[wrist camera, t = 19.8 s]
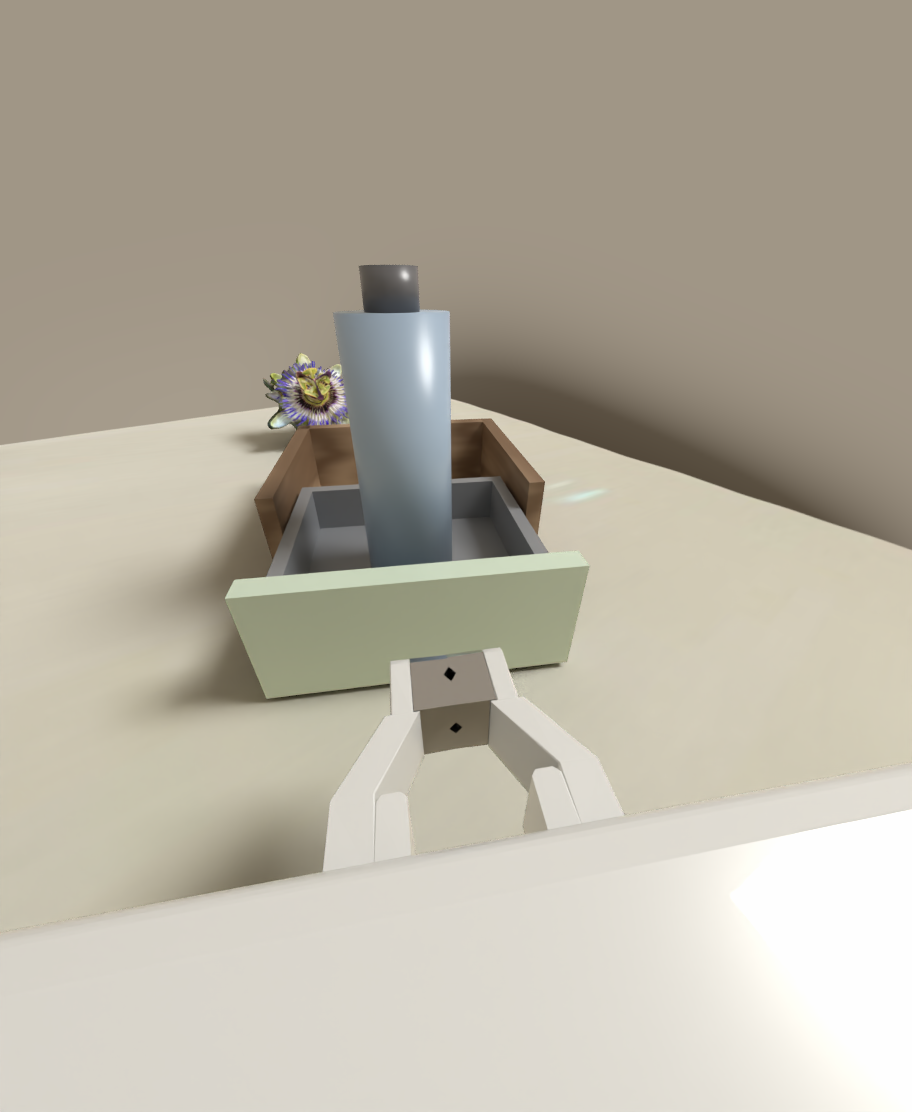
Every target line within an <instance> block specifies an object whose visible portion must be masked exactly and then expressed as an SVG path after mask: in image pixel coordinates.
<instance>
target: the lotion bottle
mask: <svg viewBox="0 0 912 1112" xmlns="http://www.w3.org/2000/svg"><path fill="white" fill-rule="evenodd" d="M359 271H360V280H361V289H362V298H363V306H364V310H358V311H342V312H334V313H333V317H334V323H335V329H336V336H337V342H338V350H339V356H340V363H341V370H342V376H343V382H344V389H345V396H346V403H347V409H348V416H349V423H350V429H351V436H352V442H353V449H354V456H355V462H356V469H357V476H358V482H359V489H360V495H361V502H362V509H363V515H364V522H365V529H366V535H367V542H368V548H369V555H370V562H371V568H378V567H390V566H402V565H414V564H425V563H437V562H449V561H452V489H451V397H450V312H449V311H442V310H420V306H419V284H418V266H410V265H364V266H359Z"/></svg>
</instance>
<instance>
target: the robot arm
mask: <svg viewBox="0 0 912 1112" xmlns="http://www.w3.org/2000/svg"><path fill="white" fill-rule="evenodd" d="M390 712H391V715H388V716H385V717H384V718H383V720H382V721H381V723H380V724H379V726H378V728H377V729H376V731H375V732H374V734H373V735H372V737H371V738H370V740H369V742H368V743H367V745H366V746H365V748H364V749H363V751H362V752H361V754H360V756H359V757H358V759H357V760H356V762H355V763H354V765H353V767H352V768H351V770H350V771H349V773H348V774H347V776H346V777H345V779H344V781H343V782H342V784H341V785H340V787H339V788H338V790H337V791H336V793H335V795H334V796H333V798H332V799H331V801H330V808H329V818H328V827H327V836H326V846H325V855H324V864H323V872H319V873H314V874H308V875H303V876H298V877H292V878H287V879H282V880H276V881H271V882H266V883H260V884H255V885H250V886H244V887H239V888H234V889H228V890H223V891H218V892H212V893H207V894H202V895H196V896H191V897H186V898H180V899H175V900H170V901H164V902H159V903H154V904H148V905H143V906H138V907H132V908H127V909H122V910H116V911H111V912H106V913H100V914H95V915H89V916H84V917H79V918H73V919H68V920H63V921H57V922H52V923H47V924H41V925H36V926H31V927H25V928H20V929H15V930H9V931H4V932H0V1112H912V762H907V763H902V764H897V765H891V766H886V767H881V768H875V769H870V770H864V771H859V772H854V773H848V774H843V775H838V776H832V777H827V778H822V779H816V780H811V781H806V782H800V783H795V784H790V785H784V786H779V787H774V788H768V789H763V790H758V791H752V792H747V793H742V794H736V795H731V796H726V797H720V798H715V799H709V800H704V801H699V802H693V803H688V804H683V805H677V806H672V807H667V808H661V809H656V810H651V811H645V812H640V813H635V814H629V815H624V813H623V811H622V808H621V806H620V804H619V802H618V800H617V798H616V795H615V793H614V791H613V789H612V787H611V785H610V783H609V780H608V778H607V776H606V774H605V772H604V770H603V767H602V765H601V763H600V761H599V759H598V757H597V756H596V755H594V754H593V753H592V752H591V751H589V750H588V749H587V748H586V747H585V746H583V745H582V744H581V743H580V742H578V741H577V740H576V739H575V738H574V737H572V736H571V735H570V734H569V733H568V732H566V731H565V730H564V729H563V728H561V727H560V726H559V725H558V724H557V723H555V722H554V721H553V720H552V719H551V718H549V717H548V716H547V715H546V714H544V713H543V712H542V711H541V710H540V709H538V708H537V707H536V706H535V705H534V704H532V703H531V702H530V701H529V700H527V699H526V698H525V697H524V696H522V697H518V695H517V692H516V689H515V686H514V683H513V681H512V678H511V675H510V672H509V669H508V666H507V663H506V660H505V657H504V654H503V651H502V649H501V648H500V647H499V648H491V649H484V650H475V651H468V652H460V653H453V654H446V655H441V656H432V657H422V658H412V659H410V660H409V659H404V660H395V661H390ZM481 745H488V746H489V748H490V749H491V750H492V751H493V752H494V753H495V754H496V756H497V757H498V758H499V759H500V760H501V761H502V763H503V764H504V765H505V766H506V767H507V768H508V770H509V771H510V772H511V773H512V774H513V775H514V776H515V778H516V779H517V780H518V781H519V782H520V783H521V785H522V786H523V787H524V788H525V789H526V790H527V792H528V793H529V794H528V800H527V805H526V810H525V816H524V821H523V829H524V833H525V834H522V835H517V836H511V837H506V838H501V839H495V840H490V841H485V842H479V843H474V844H469V845H463V846H458V847H453V848H447V849H442V850H436V851H431V852H426V853H420V854H416V850H415V842H414V835H413V829H412V823H411V816H410V810H409V804H408V797H407V795H408V793H409V791H410V789H411V786H412V784H413V782H414V779H415V777H416V775H417V773H418V770H419V768H420V766H421V763H422V761H423V759H424V755H425V754H430V753H435V752H441V751H446V750H452V749H457V748H465V747H473V746H481Z"/></svg>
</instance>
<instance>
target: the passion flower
mask: <svg viewBox="0 0 912 1112" xmlns="http://www.w3.org/2000/svg"><path fill="white" fill-rule="evenodd" d="M341 372H342V370H341V366H340V365H339V364H337V365H335V366H333V367H330V368H328V369H326V370H323V371H322V372H321V367H320V368H318V370H317V369H316V368H315V362H313V361H312V362H310V360H309V359H308V357H307V356H306V355H303V354H301V353H300V354H299V355H298V357H297V359H296V363H295V364H293V367H290V366H289V370H288V371H287V372H286V371H285V370H284V371H283V372H282V374H281V375H278V374H275V373H272V374H271V375H270V377H271V379H272V380H271V383H270V384H269V382H268V381H267V380H266V379H265V378H263V381H264V384H265V385H266V386H267V387H268V388H269V389H270V390H271V392H270V393H267V394H266V397H267V398H269V399H271V400H274V401H275V402H277V403H278V404H279V410H278V412H277V413H275V414H274V416H272V417H271V419H270V420H269V422H268V427H269V428H270V429H278V428H282V427H284V426H286V425H287V424H292V425H293V426H294V427H295V428H296V430H297V428H298V427H299V426H308V425H334V424H350V423H349V416H348V409H347V403H346V396H345V389H344V383H340V382H341V381H343V379H341V380H340V374H341ZM274 385H275V386H277V388H276V389H274Z"/></svg>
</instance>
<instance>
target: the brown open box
mask: <svg viewBox="0 0 912 1112" xmlns="http://www.w3.org/2000/svg"><path fill="white" fill-rule="evenodd" d="M495 476H500V477H501V479H502V480H503V482H504V483H505V485H506V486H507V488H508V490H509V491H510V493H511V494H512V496H513V498H514V499H515V501H516V502H517V504H518V505H519V507H520V509H521V510H522V512H523V513H524V515H525V516H526V518H527V520H528V521H529V523H530V524H531V526H532V527H533V529H534V531H535V532H536V534H537V535H538V528H539V521H540V514H541V506H542V499H543V492H544V485H545V481H544V480H543V479H542V478H541V477H540V475H539V474H538V473H537V472H536V471H535V470H534V468H533V467H532V466H531V465H530V464H529V463H528V461H527V460H526V459H525V458H524V457H523V456H522V454H521V453H520V452H519V451H518V450H517V448H516V447H515V446H514V445H513V444H512V443H511V441H510V440H509V439H508V438H507V437H506V436H505V434H504V433H503V432H502V431H501V430H500V428H499V427H498V426H497V425H496V424H495V423H494V421H493V420H492V419H466V420H451V479H461V478H478V477H495ZM357 484H359V482H358V476H357V469H356V462H355V456H354V449H353V442H352V436H351V429H350V424H334V425H308V426H299V427H298V428H297V430H296V432H295V433H294V435H293V437H292V438H291V440H290V442H289V443H288V445H287V446H286V448H285V450H284V451H283V453H282V455H281V456H280V458H279V460H278V461H277V463H276V465H275V466H274V468H273V469H272V471H271V473H270V474H269V476H268V478H267V479H266V481H265V483H264V484H263V486H262V487H261V489H260V491H259V492H258V494H257V496H256V497H255V499H254V500H255V504H256V507H257V510H258V513H259V517H260V520H261V523H262V526H263V530H264V533H265V536H266V539H267V543H268V546H269V549H270V552H271V555H272V559H274V556H275V554H276V551H277V549H278V546H279V544H280V541H281V539H282V536H283V534H284V531H285V529H286V526H287V524H288V521H289V519H290V516H291V514H292V511H293V509H294V507H295V504H296V502H297V499H298V497H299V494H300V492H301V489H302V488H304V487H322V486H339V485H357Z"/></svg>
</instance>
